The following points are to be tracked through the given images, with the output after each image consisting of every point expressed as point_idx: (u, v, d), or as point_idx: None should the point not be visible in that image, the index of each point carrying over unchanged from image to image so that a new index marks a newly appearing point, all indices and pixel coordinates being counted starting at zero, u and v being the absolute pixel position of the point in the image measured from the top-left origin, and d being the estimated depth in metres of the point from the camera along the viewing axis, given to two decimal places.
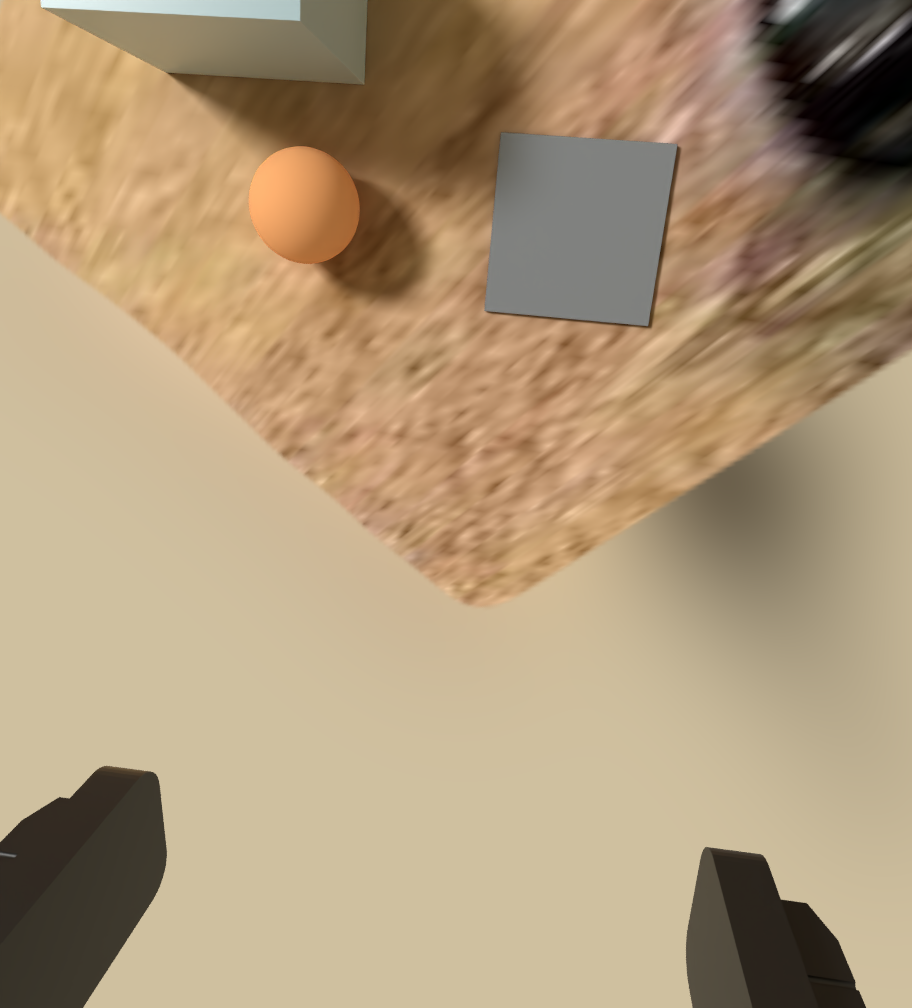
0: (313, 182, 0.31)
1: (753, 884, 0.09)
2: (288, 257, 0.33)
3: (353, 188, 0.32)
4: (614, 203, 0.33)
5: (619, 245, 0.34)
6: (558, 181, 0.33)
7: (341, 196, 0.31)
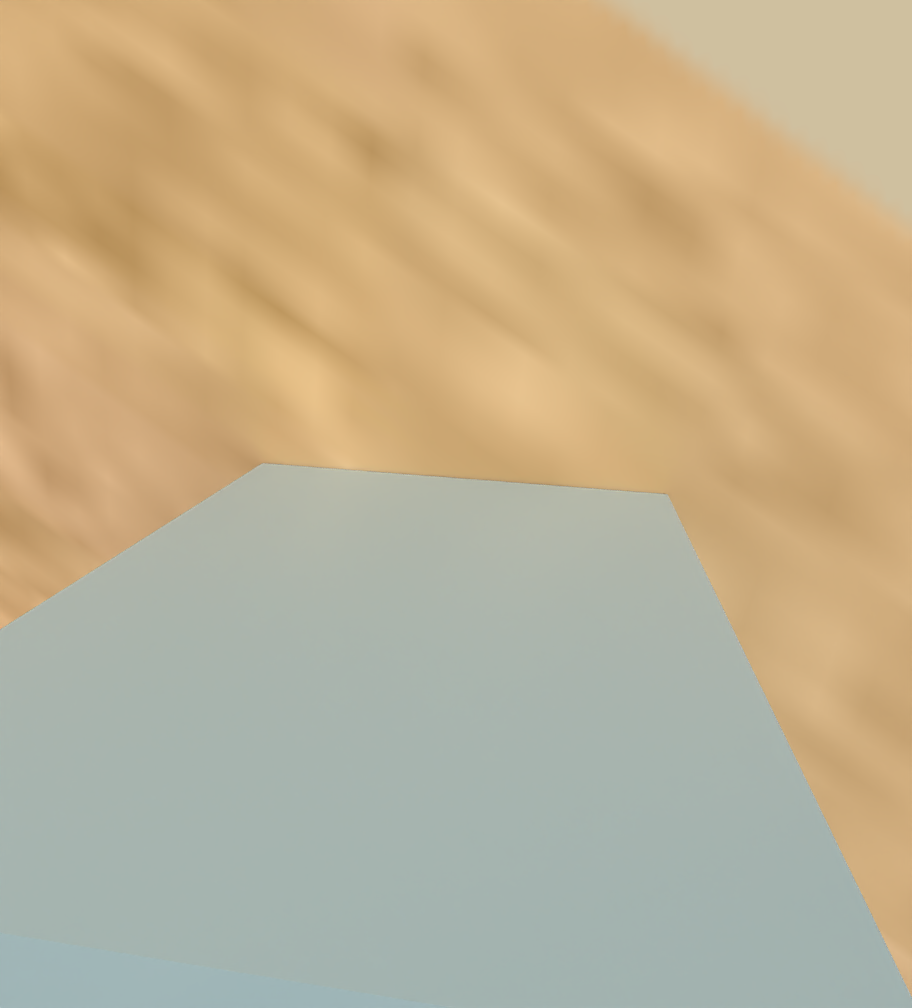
0: None
1: None
2: None
3: None
4: None
5: None
6: None
7: None
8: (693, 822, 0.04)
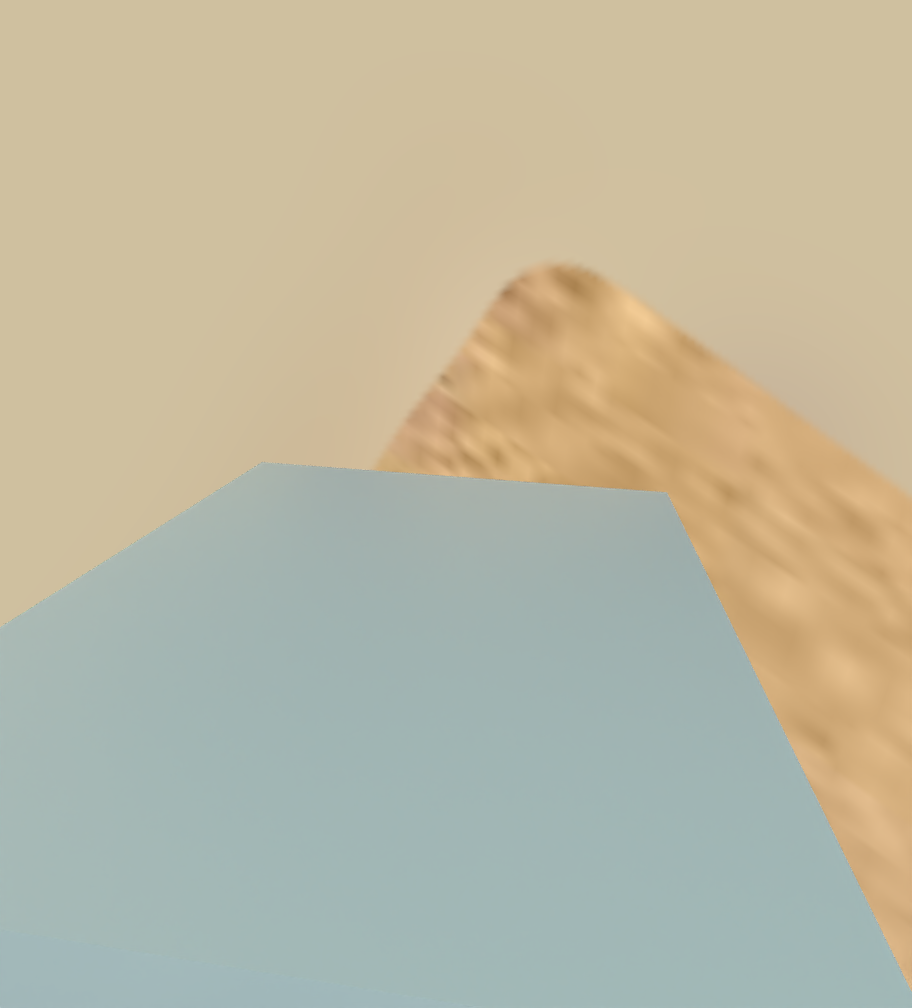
0: None
1: None
2: None
3: None
4: None
5: None
6: None
7: None
8: (693, 818, 0.04)
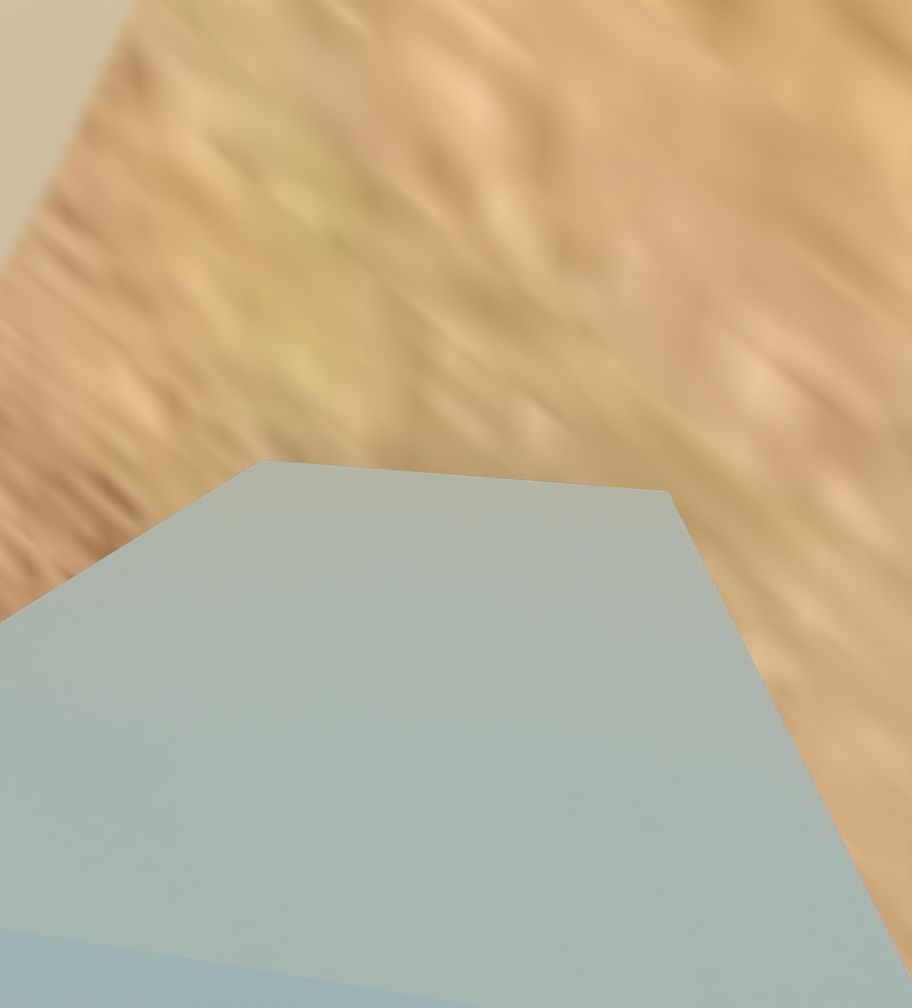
0: None
1: None
2: None
3: None
4: None
5: None
6: None
7: None
8: (696, 816, 0.04)
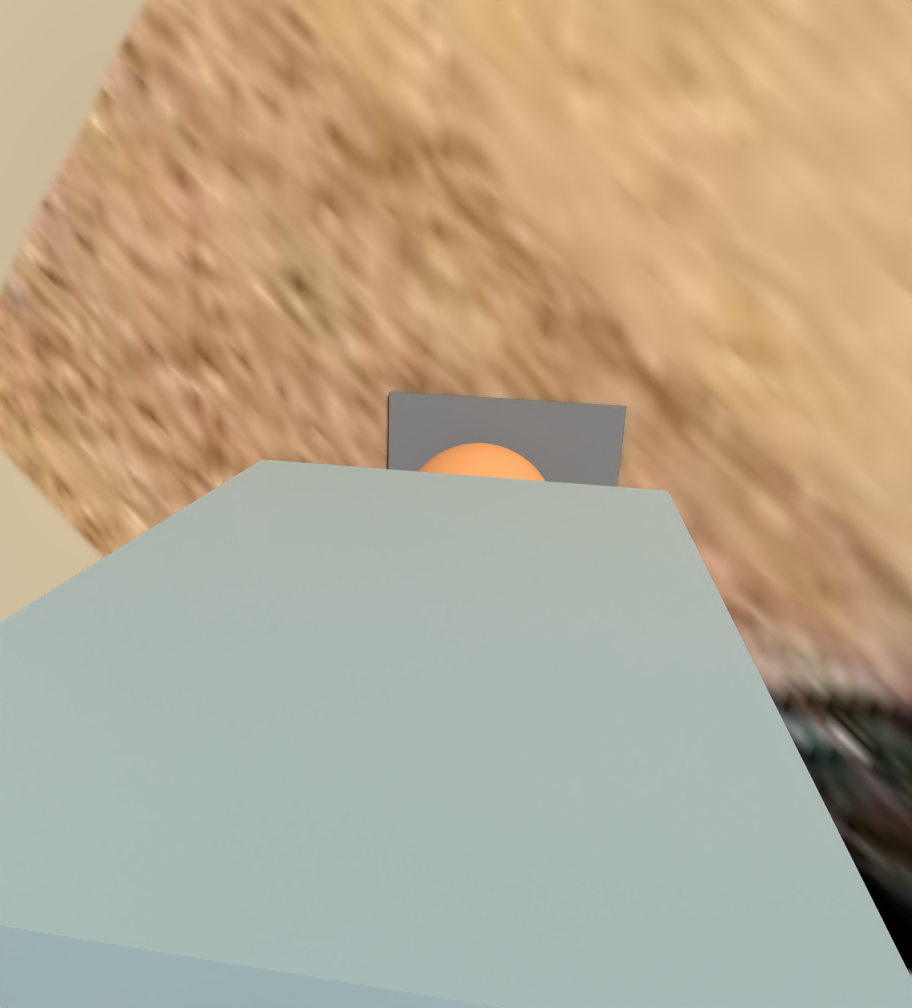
0: (510, 471, 0.21)
1: None
2: None
3: None
4: None
5: None
6: None
7: None
8: (696, 815, 0.04)
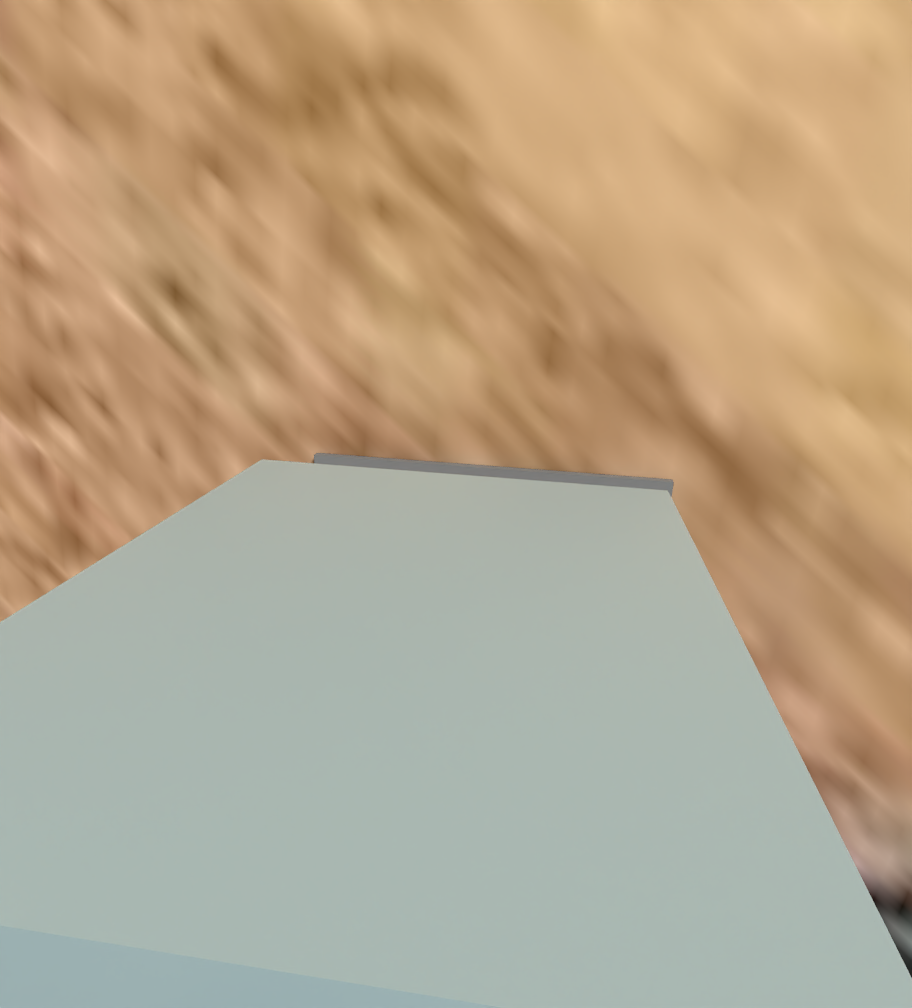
0: None
1: None
2: None
3: None
4: None
5: None
6: None
7: None
8: (696, 815, 0.04)
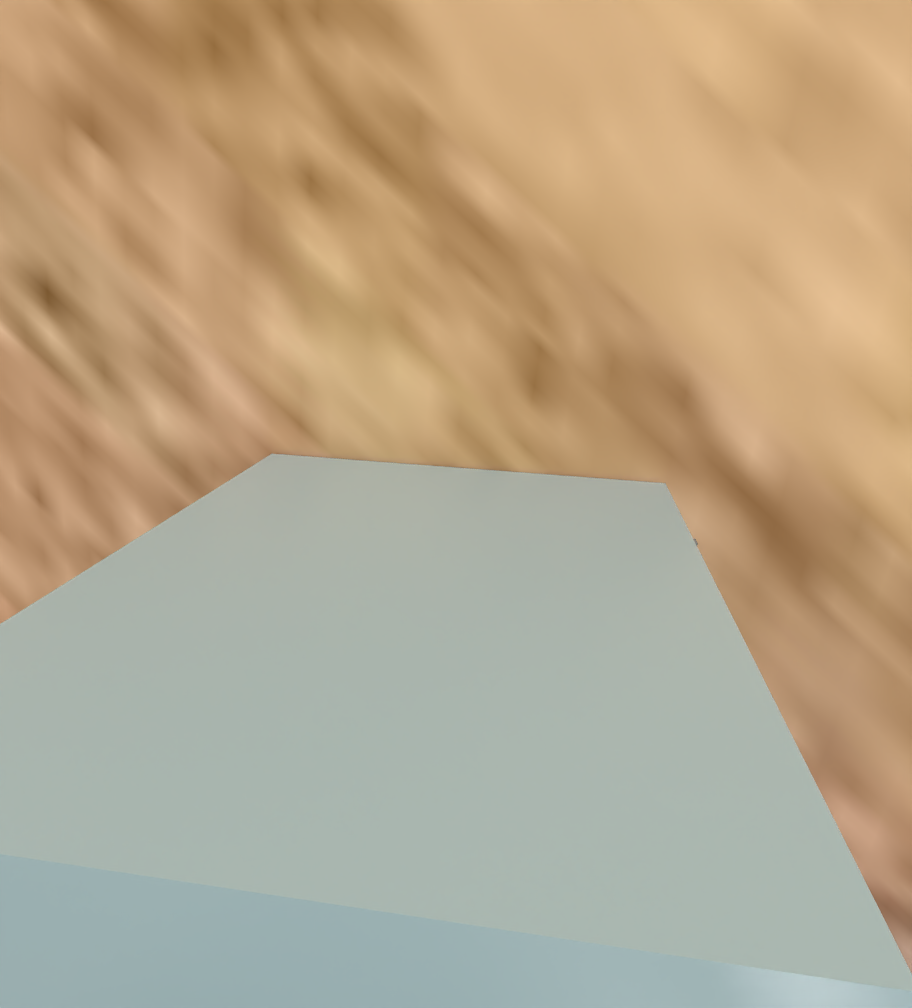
0: None
1: None
2: None
3: None
4: None
5: None
6: None
7: None
8: (687, 773, 0.05)
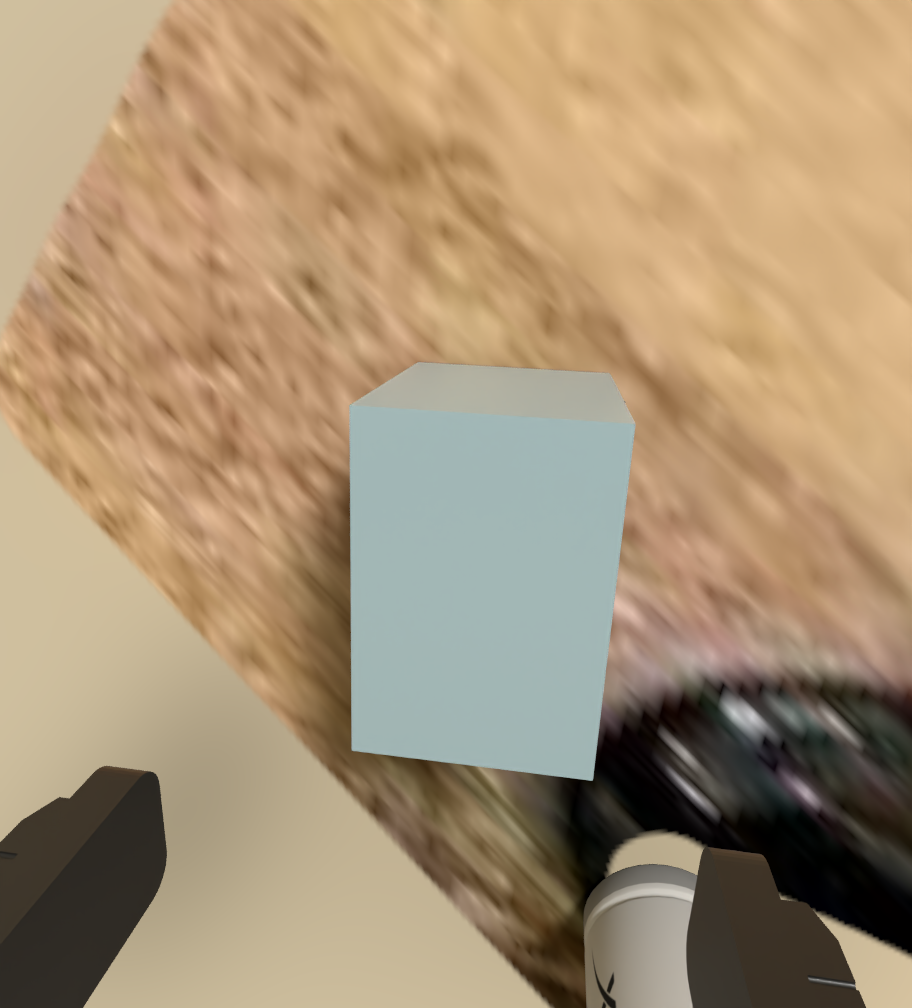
0: None
1: (753, 884, 0.09)
2: None
3: None
4: None
5: None
6: None
7: None
8: (594, 409, 0.18)
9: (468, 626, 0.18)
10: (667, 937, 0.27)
